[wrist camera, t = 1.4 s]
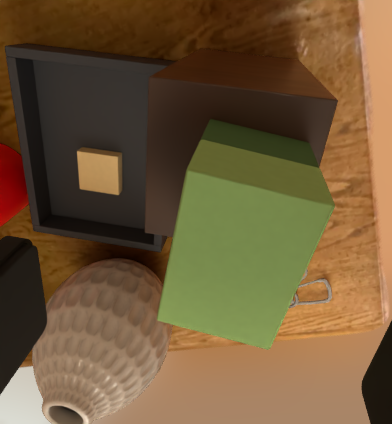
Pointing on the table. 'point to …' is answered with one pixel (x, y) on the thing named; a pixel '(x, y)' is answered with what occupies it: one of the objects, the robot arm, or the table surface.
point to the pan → (83, 139)
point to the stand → (224, 115)
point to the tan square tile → (100, 170)
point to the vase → (100, 341)
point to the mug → (11, 184)
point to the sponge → (243, 233)
